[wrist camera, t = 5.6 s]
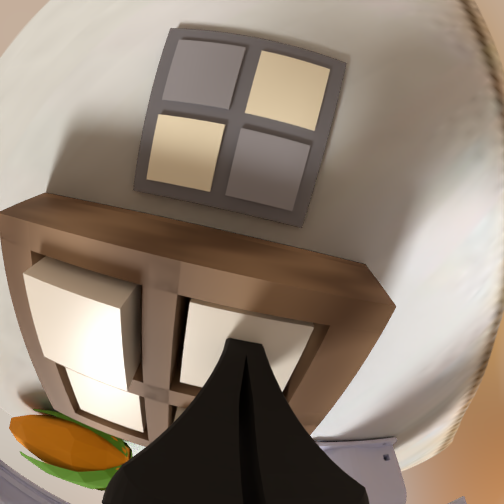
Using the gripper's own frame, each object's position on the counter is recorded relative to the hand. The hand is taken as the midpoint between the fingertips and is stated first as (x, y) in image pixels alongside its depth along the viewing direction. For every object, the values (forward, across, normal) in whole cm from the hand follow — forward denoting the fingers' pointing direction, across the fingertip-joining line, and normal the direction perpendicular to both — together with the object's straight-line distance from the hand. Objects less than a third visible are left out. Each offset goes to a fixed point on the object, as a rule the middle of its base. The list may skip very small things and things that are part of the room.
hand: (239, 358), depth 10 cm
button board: (+3, +3, +3) cm, 5 cm away
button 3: (+2, +6, +6) cm, 9 cm away
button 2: (+2, 0, 0) cm, 2 cm away
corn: (+3, +15, +21) cm, 25 cm away
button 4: (+1, +6, 0) cm, 6 cm away
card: (+3, +2, -8) cm, 9 cm away
